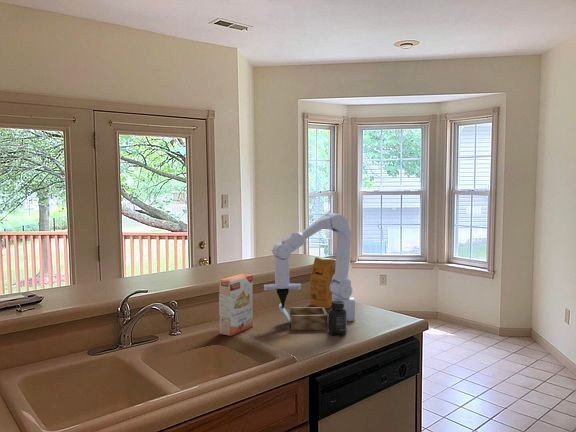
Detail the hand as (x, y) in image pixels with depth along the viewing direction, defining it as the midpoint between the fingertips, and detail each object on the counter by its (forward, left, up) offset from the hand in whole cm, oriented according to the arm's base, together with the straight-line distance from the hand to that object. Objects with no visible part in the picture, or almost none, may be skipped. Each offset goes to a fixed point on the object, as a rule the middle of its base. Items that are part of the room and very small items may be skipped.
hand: (282, 307), depth 190 cm
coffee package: (-19, -29, -7) cm, 35 cm away
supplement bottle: (-20, +11, -7) cm, 24 cm away
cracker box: (+18, +6, -7) cm, 20 cm away
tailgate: (-2, 0, -5) cm, 5 cm away
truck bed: (-10, 0, -7) cm, 12 cm away
